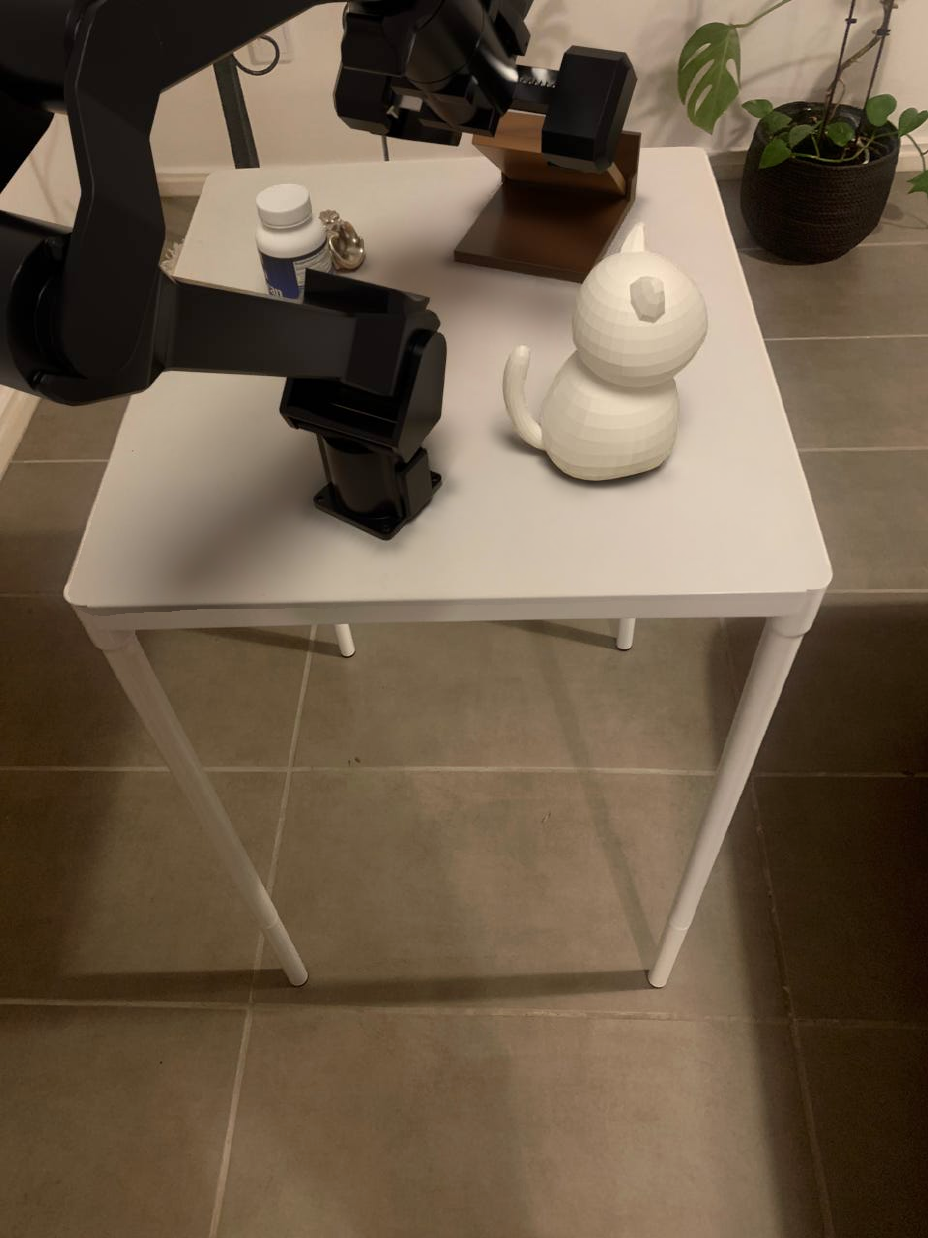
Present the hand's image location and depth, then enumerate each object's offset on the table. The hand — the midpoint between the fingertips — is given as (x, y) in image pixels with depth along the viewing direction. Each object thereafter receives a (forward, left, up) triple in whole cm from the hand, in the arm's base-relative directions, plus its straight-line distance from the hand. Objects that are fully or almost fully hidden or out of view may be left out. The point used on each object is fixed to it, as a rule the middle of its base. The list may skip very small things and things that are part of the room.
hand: (517, 149), depth 66 cm
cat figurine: (+14, -12, -13) cm, 22 cm away
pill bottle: (-15, -9, -13) cm, 22 cm away
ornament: (-19, -2, -13) cm, 23 cm away
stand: (-4, +11, -13) cm, 17 cm away
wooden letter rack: (-4, +12, -8) cm, 15 cm away
